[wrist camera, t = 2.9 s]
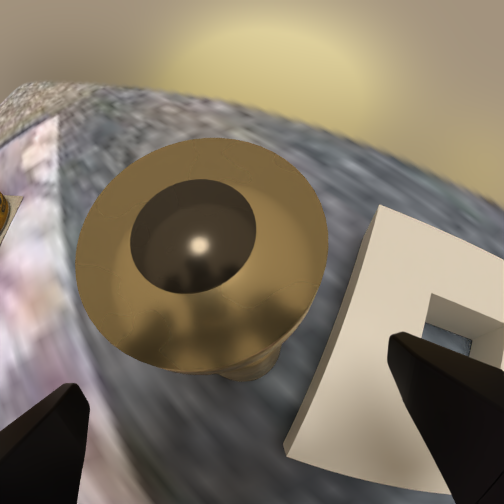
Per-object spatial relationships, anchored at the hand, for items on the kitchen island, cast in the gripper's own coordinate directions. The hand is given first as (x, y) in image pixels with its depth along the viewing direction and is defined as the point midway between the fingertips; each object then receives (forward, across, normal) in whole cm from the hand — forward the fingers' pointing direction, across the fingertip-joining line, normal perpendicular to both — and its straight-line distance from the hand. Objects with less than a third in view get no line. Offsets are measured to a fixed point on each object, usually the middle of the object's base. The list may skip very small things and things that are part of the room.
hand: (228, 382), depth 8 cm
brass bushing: (+9, 0, +5) cm, 10 cm away
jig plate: (+6, -11, +8) cm, 15 cm away
